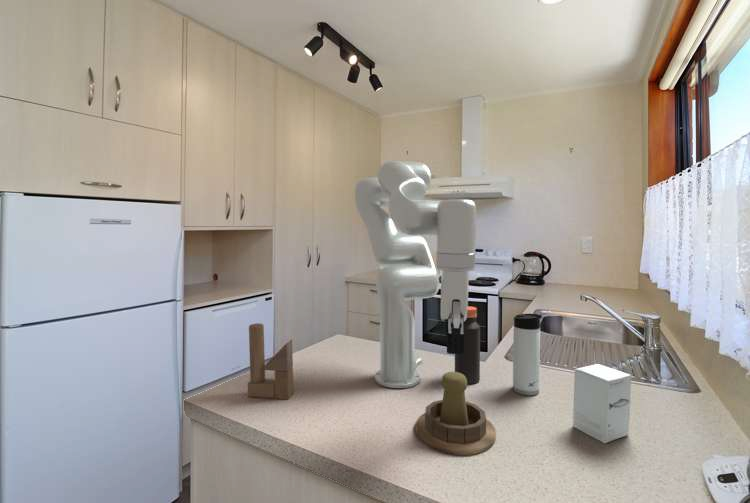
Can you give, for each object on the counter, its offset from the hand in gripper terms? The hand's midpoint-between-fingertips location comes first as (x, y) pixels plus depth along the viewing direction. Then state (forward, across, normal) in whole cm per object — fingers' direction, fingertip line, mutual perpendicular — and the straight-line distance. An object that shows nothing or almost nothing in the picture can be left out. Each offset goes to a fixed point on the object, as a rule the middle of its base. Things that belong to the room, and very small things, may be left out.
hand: (454, 345), depth 76 cm
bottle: (+19, -27, +5) cm, 33 cm away
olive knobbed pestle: (+17, 0, 0) cm, 17 cm away
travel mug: (+18, -22, +19) cm, 35 cm away
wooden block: (+19, -9, -45) cm, 49 cm away
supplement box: (+18, -4, +30) cm, 35 cm away
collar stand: (+18, +1, 0) cm, 18 cm away
